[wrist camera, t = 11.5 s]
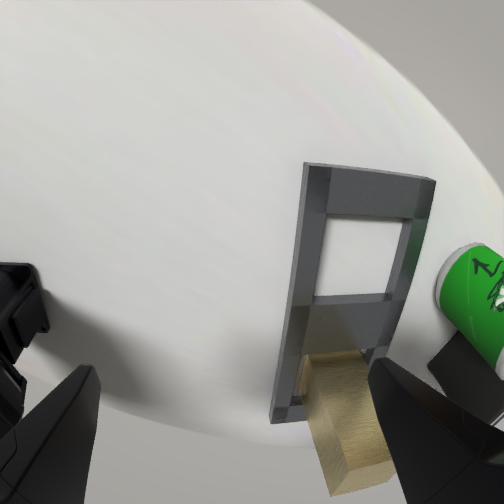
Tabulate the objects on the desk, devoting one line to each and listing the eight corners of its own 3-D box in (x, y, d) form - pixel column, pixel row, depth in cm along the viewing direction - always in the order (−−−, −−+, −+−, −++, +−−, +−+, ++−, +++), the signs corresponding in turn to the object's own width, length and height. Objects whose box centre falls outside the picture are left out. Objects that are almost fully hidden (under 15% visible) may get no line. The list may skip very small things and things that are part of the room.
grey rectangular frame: (268, 415, 30) (270, 424, 29) (303, 162, 20) (309, 165, 18) (356, 404, 31) (359, 411, 30) (427, 177, 21) (436, 181, 20)
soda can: (462, 310, 28) (529, 383, 17) (416, 303, 26) (491, 394, 15) (494, 246, 25) (576, 309, 14) (451, 229, 23) (551, 302, 12)
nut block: (298, 389, 29) (330, 496, 18) (306, 353, 27) (350, 470, 16) (345, 383, 29) (387, 481, 19) (358, 347, 27) (413, 452, 16)
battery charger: (437, 373, 32) (482, 440, 21) (423, 366, 30) (471, 440, 20) (475, 331, 30) (529, 393, 19) (464, 321, 28) (524, 388, 18)
